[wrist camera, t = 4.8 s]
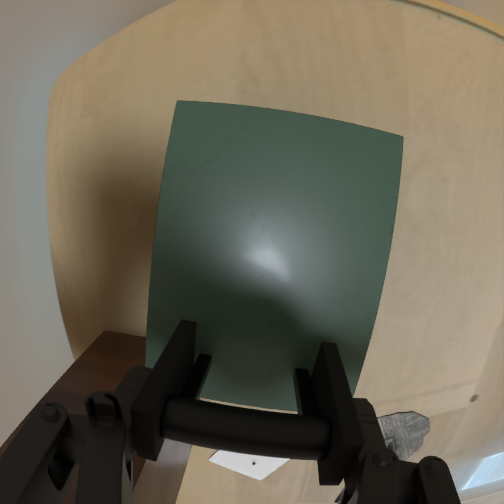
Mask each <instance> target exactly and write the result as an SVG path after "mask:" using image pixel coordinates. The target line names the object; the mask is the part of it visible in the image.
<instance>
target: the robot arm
mask: <svg viewBox="0 0 504 504" xmlns="http://www.w3.org/2000/svg"><path fill="white" fill-rule="evenodd" d="M196 325H197V322H193V321H188V320H183V319H181V321H180V323H179V324H178V326H177V328H176V330H175V331H174V333H173V335H172V336H171V338H170V340H169V341H168V343H167V345H166V347H165V348H164V350H163V352H162V353H161V355H160V357H159V359H158V360H157V362H156V364H155V365H154V367H153V369H152V368H148V367H144V366H140V365H136V366H135V367H133V368H131V369H130V370H128V372H127V373H126V375H125V376H124V378H123V379H122V381H121V382H120V384H119V386H118V387H117V388H116V390H115V391H114V393H113V392H110V391H96V392H93V393H91V394H90V395H88V396H87V397H86V399H85V401H84V402H85V406H86V411H87V415H78V414H70V413H68V412H67V409H66V408H65V407H64V406H63V405H62V404H60V403H58V402H53V401H50V402H44V403H42V404H40V405H39V406H37V407H36V408H35V410H34V411H33V413H32V414H31V415H30V417H29V418H28V419H27V421H26V422H25V423H24V425H23V426H22V428H21V429H20V430H19V432H18V433H17V435H16V436H15V437H14V439H13V440H12V442H11V443H10V445H9V446H8V447H7V449H6V450H5V452H4V453H3V455H2V456H1V458H0V504H62V502H63V500H64V498H65V496H66V494H67V491H68V489H69V487H70V485H71V483H72V481H73V479H74V477H75V474H76V472H77V470H78V468H79V474H78V481H77V489H76V497H75V504H133V462H132V456H133V453H134V451H135V449H136V453H137V456H138V457H141V458H145V459H148V460H151V461H155V462H156V461H157V458H158V456H159V453H160V451H161V448H162V446H163V443H164V440H165V438H163V437H162V436H161V433H160V422H161V416H162V411H163V407H164V404H165V402H166V400H167V398H168V396H169V395H170V394H174V395H179V393H180V391H181V389H182V387H183V385H184V383H185V381H186V379H187V377H188V375H189V373H190V371H191V369H192V367H193V365H194V352H195V338H196ZM311 383H312V387H313V392H314V396H315V400H316V404H317V408H318V412H319V416H326V417H329V418H330V421H331V425H332V439H331V445H330V449H329V452H328V454H327V456H326V458H325V459H324V460H317V463H318V473H319V484H320V485H339V484H340V483H341V481H342V480H343V478H344V482H345V487H344V489H343V490H342V491H341V493H340V494H339V496H338V497H337V499H336V500H335V503H337V502H338V501H339V503H338V504H461V503H460V499H459V496H458V493H457V491H456V488H455V485H454V482H453V479H452V476H451V473H450V471H449V468H448V466H447V464H446V463H445V462H444V461H443V460H442V459H441V458H438V457H436V456H427V457H424V458H423V459H422V460H421V461H420V462H419V463H413V462H407V461H403V460H400V459H399V457H398V456H397V454H396V453H395V452H394V451H392V450H391V449H389V448H387V447H386V443H385V440H384V437H383V434H382V431H381V428H380V425H379V423H378V419H377V417H376V414H375V411H374V408H373V406H372V405H371V404H370V402H369V401H368V400H367V399H365V398H353V397H352V393H351V390H350V387H349V383H348V380H347V376H346V373H345V370H344V366H343V363H342V360H341V357H340V353H339V350H338V347H337V344H336V343H330V342H321V345H320V349H319V352H318V355H317V359H316V362H315V366H314V369H313V372H312V375H311ZM79 466H80V467H79Z"/></svg>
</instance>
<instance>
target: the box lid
mask: <svg viewBox="0 0 504 504" xmlns="http://www.w3.org/2000/svg"><path fill="white" fill-rule="evenodd" d="M403 138H404V137H403V136H400V135H396V134H393V133H389V132H385V131H381V130H378V129H374V128H370V127H365V126H361V125H357V124H353V123H348V122H344V121H339V120H334V119H329V118H324V117H319V116H313V115H308V114H302V113H296V112H290V111H283V110H277V109H269V108H262V107H254V106H245V105H236V104H225V103H213V102H199V101H179V100H178V101H177V102H176V107H175V112H174V116H173V121H172V126H171V131H170V137H169V142H168V147H167V153H166V159H165V165H164V171H163V177H162V183H161V190H160V197H159V204H158V211H157V219H156V227H155V235H154V244H153V253H152V263H151V274H150V286H149V300H148V316H147V335H146V367H148V368H152V369H153V367H154V365H155V364H156V362H157V360H158V359H159V357H160V355H161V353H162V352H163V350H164V348H165V347H166V345H167V343H168V341H169V340H170V338H171V336H172V335H173V333H174V331H175V330H176V328H177V326H178V324H179V323H180V321H181V319H183V320H188V321H193V322H197V325H196V338H195V352H194V365H193V367H192V369H191V371H190V373H189V375H188V377H187V379H186V381H185V383H184V385H183V387H182V389H181V391H180V393H179V395H174V394H170V395H169V396H168V398H167V400H166V402H165V404H164V407H163V411H162V416H161V422H160V433H161V436H162V437H163V438H166V439H170V440H174V441H178V442H182V443H187V444H191V445H196V446H201V447H206V448H211V449H217V450H222V451H228V452H235V453H241V454H249V455H257V456H265V457H275V458H286V459H301V460H324V459H325V458H326V456H327V454H328V452H329V449H330V445H331V439H332V425H331V421H330V418H329V417H326V416H319V412H318V408H317V404H316V400H315V396H314V392H313V387H312V383H311V375H312V372H313V369H314V366H315V362H316V359H317V355H318V352H319V349H320V345H321V342H330V343H336V344H337V347H338V350H339V353H340V357H341V360H342V363H343V366H344V370H345V373H346V376H347V380H348V383H349V387H350V390H351V393H352V397H353V395H354V392H355V389H356V386H357V383H358V380H359V377H360V373H361V370H362V367H363V363H364V360H365V357H366V353H367V350H368V346H369V342H370V339H371V335H372V331H373V327H374V323H375V319H376V315H377V311H378V307H379V302H380V298H381V294H382V289H383V284H384V280H385V275H386V270H387V264H388V259H389V254H390V248H391V242H392V236H393V230H394V223H395V216H396V209H397V202H398V193H399V185H400V175H401V165H402V153H403ZM199 397H201V398H206V399H211V400H217V401H222V402H228V403H234V404H241V405H247V406H254V407H261V408H269V409H278V410H287V411H297V412H298V414H289V413H279V412H271V411H263V410H255V409H248V408H242V407H235V406H229V405H223V404H218V403H212V402H207V401H202V400H198V399H199Z"/></svg>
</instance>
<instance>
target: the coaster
mask: <svg viewBox="0 0 504 504" xmlns="http://www.w3.org/2000/svg"><path fill="white" fill-rule="evenodd" d="M288 460H289V459H286V458H275V457H265V456H257V455H249V454H241V453H235V452H228V451H222V450H218V451H217V452H216V453H215V454H214V455H213V456H212V457H211V458H210V459H209V461H211V462H214V463H216V464H218V465H221V466H223V467H226V468H228V469H231V470H233V471H236V472H239V473H241V474H244V475H247V476H249V477H252V478H255V479H258V480H262V479H264V478H265V477H266V476H268V475H269V474H271V473H272V472H273V471H275V470H276V469H277V468H279V467H280V466H281V465H283V464H284V463H285V462H287V461H288Z"/></svg>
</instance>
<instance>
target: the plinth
mask: <svg viewBox="0 0 504 504" xmlns="http://www.w3.org/2000/svg"><path fill="white" fill-rule="evenodd" d="M136 365H140V366H144V367H146V338H145V337H138V336H131V335H125V334H119V333H113V332H107V331H103V332H102V333H101V334H100V335H99V336H98V338H97V339H96V340H95V341H94V342H93V343H92V344H91V345H90V346H89V347H88V348H87V349H86V350H85V351H84V352H83V353H82V355H81V356H80V357H79V358H78V359H77V360H76V361H75V362H74V363H73V364H72V365H71V367H70V368H69V369H68V370H67V371H66V372H65V373H64V374H63V375H62V376H61V378H60V379H59V380H58V381H57V382H56V383H55V384H54V385H53V386H52V388H51V389H50V390H49V391H48V392H47V393H46V394H45V395H44V397H43V398H42V399H41V400H40V401H39V402H38V404H37V405H36V406H35V407H34V408H33V409H32V411H30V413H29V414H28V415H27V416H26V417H25V418H24V420H23V421H22V422H21V423H20V424H19V426H18V427H17V428H16V429H15V430H14V431H13V433H12V434H11V435H10V436H9V437H8V439H7V440H6V441H5V442H4V444H3V445H2V446H1V447H0V458H1V456H2V455H3V453H4V452H5V450H6V449H7V447H8V446H9V445H10V443H11V442H12V440H13V439H14V437H15V436H16V435H17V433H18V432H19V430H20V429H21V428H22V426H23V425H24V423H25V422H26V421H27V419H28V418H29V417H30V415H31V414H32V413H33V411H34V410H35V408H36V407H37V406H39V405H40V404H42V403H44V402H50V401H53V402H58V403H60V404H62V405H63V406H64V407H65V408H66V409H67V412H68V413H70V414H78V415H87V411H86V406H85V402H84V401H85V399H86V397H87V396H88V395H90V394H91V393H93V392H96V391H110V392H113V393H114V391H115V390H116V388H117V387H118V386H119V384H120V382H121V381H122V379H123V378H124V376H125V375H126V373H127V372H128V370H130V369H131V368H133V367H135V366H136ZM198 400H199V399H198ZM191 448H192V445H191V444H187V443H182V442H178V441H174V440H170V439H166V438H165V440H164V443H163V446H162V448H161V451H160V453H159V456H158V458H157V461H156V462H155V461H151V460H148V459H145V458H141V457H138V456H137V453H136V449H135V451H134V453H133V456H132V462H133V504H175V503H176V500H177V496H178V493H179V489H180V486H181V482H182V479H183V476H184V472H185V469H186V465H187V462H188V459H189V455H190V452H191ZM79 467H80V466H79ZM78 474H79V468H78V470H77V472H76V474H75V477H74V479H73V481H72V483H71V485H70V487H69V489H68V491H67V494H66V496H65V498H64V500H63V502H62V504H75V497H76V489H77V481H78Z"/></svg>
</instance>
